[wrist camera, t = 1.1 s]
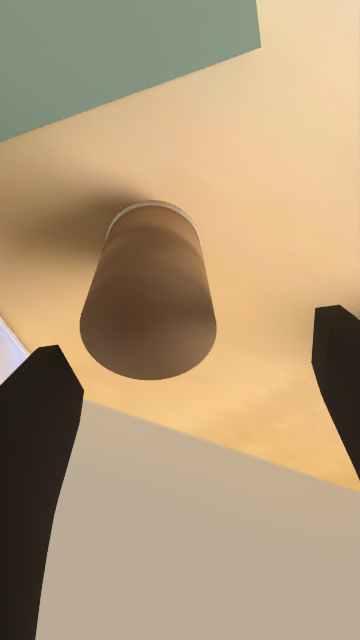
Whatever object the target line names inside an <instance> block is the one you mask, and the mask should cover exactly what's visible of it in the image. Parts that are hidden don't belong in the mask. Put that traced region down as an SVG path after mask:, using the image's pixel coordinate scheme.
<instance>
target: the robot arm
mask: <svg viewBox="0 0 360 640" xmlns="http://www.w3.org/2000/svg"><path fill="white" fill-rule="evenodd" d="M311 363H312V366H313V369H314V373H315V376H316V379H317V383H318V386H319V389H320V392H321V395H322V397H323V400H324V402H325V404H326V407H327V409H328V411H329V413H330V415H331V418H332V420H333V422H334V424H335V427H336V429H337V431H338V433H339V435H340V437H341V440H342V442H343V444H344V446H345V448H346V451H347V453H348V455H349V457H350V459H351V462H352V464H353V466H354V468H355V470H356V473H357V475H358V477H359V480H360V320H359V319H358V318H356V317H355V316H354V315H352V314H351V313H350V312H349V311H347V310H346V309H345V308H343V307H342V306H341V305H334V306H327V307H320V308H315V319H314V333H313V347H312V361H311ZM83 394H84V389H83V388H82V386H81V384H80V382H79V381H78V379H77V377H76V375H75V373H74V372H73V370H72V368H71V366H70V365H69V363H68V361H67V359H66V358H65V356H64V354H63V352H62V351H61V349H60V347H59V345H52V346H45V347H39V348H37V349H36V350H35V351H34V352H33V353H32V354H31V355H30V354H29V352H28V351H27V350H26V349H25V347H24V346H23V345H22V343H21V342H20V341H19V340H18V338H17V337H16V336H15V334H14V333H13V332H12V331H11V329H10V328H9V327H8V325H7V324H6V323H5V322H4V320H3V319H2V318H1V316H0V640H35V636H36V629H37V621H38V613H39V605H40V597H41V590H42V583H43V577H44V570H45V564H46V558H47V552H48V546H49V541H50V535H51V529H52V524H53V519H54V514H55V510H56V505H57V501H58V497H59V494H60V490H61V487H62V483H63V480H64V476H65V473H66V469H67V466H68V462H69V459H70V455H71V452H72V448H73V445H74V441H75V437H76V433H77V430H78V426H79V423H80V416H81V410H82V403H83Z"/></svg>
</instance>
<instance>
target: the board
mask: <svg viewBox="0 0 360 640" xmlns="http://www.w3.org/2000/svg"><path fill="white" fill-rule="evenodd" d="M258 48H261V42H260V33H259V24H258V15H257V6H256V0H0V142H1V141H4V140H7V139H10V138H12V137H15V136H18V135H21V134H23V133H26V132H29V131H32V130H34V129H37V128H40V127H43V126H45V125H48V124H51V123H54V122H56V121H59V120H62V119H65V118H67V117H70V116H73V115H76V114H79V113H81V112H84V111H87V110H90V109H92V108H95V107H98V106H101V105H103V104H106V103H109V102H112V101H114V100H117V99H120V98H123V97H125V96H128V95H131V94H134V93H136V92H139V91H142V90H145V89H147V88H150V87H153V86H156V85H159V84H161V83H164V82H167V81H170V80H172V79H175V78H178V77H181V76H183V75H186V74H189V73H192V72H194V71H197V70H200V69H203V68H205V67H208V66H211V65H214V64H216V63H219V62H222V61H225V60H227V59H230V58H233V57H236V56H238V55H241V54H244V53H247V52H250V51H252V50H255V49H258Z"/></svg>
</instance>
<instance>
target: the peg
mask: <svg viewBox="0 0 360 640" xmlns="http://www.w3.org/2000/svg"><path fill="white" fill-rule="evenodd" d="M80 334H81V338H82V341H83V343H84V345H85V347H86V349H87V351H88V352H89V353H90V355H91V356H92V357H93V358H94V359H95V360H96V361H97V362H98V363H100V364H101V365H102V366H104V367H105V368H107V369H108V370H110V371H112V372H114V373H116V374H119V375H122V376H125V377H128V378H133V379H139V380H161V379H167V378H171V377H175V376H178V375H180V374H183V373H185V372H187V371H189V370H191V369H192V368H194V367H195V366H197V365H198V364H199V363H200V362H201V361H202V360H203V359H204V358H205V357H206V356H207V355H208V353H209V352H210V350H211V348H212V346H213V344H214V341H215V338H216V320H215V315H214V310H213V305H212V300H211V295H210V290H209V285H208V280H207V275H206V270H205V265H204V260H203V255H202V244H201V239H200V235H199V232H198V229H197V227H196V225H195V223H194V222H193V220H192V219H191V218H190V217H189V216H188V215H187V214H186V213H185V212H184V211H183V210H181V209H180V208H178V207H176V206H174V205H172V204H170V203H166V202H163V201H154V200H149V201H142V202H138V203H135V204H132V205H130V206H128V207H127V208H125V209H124V210H122V211H121V212H120V213H119V214H118V215H117V216H116V217H115V218H114V220H113V221H112V223H111V225H110V227H109V229H108V232H107V235H106V239H105V245H104V248H103V251H102V254H101V257H100V260H99V263H98V266H97V269H96V272H95V275H94V278H93V281H92V284H91V287H90V290H89V293H88V296H87V299H86V301H85V304H84V307H83V310H82V313H81V318H80Z"/></svg>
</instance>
